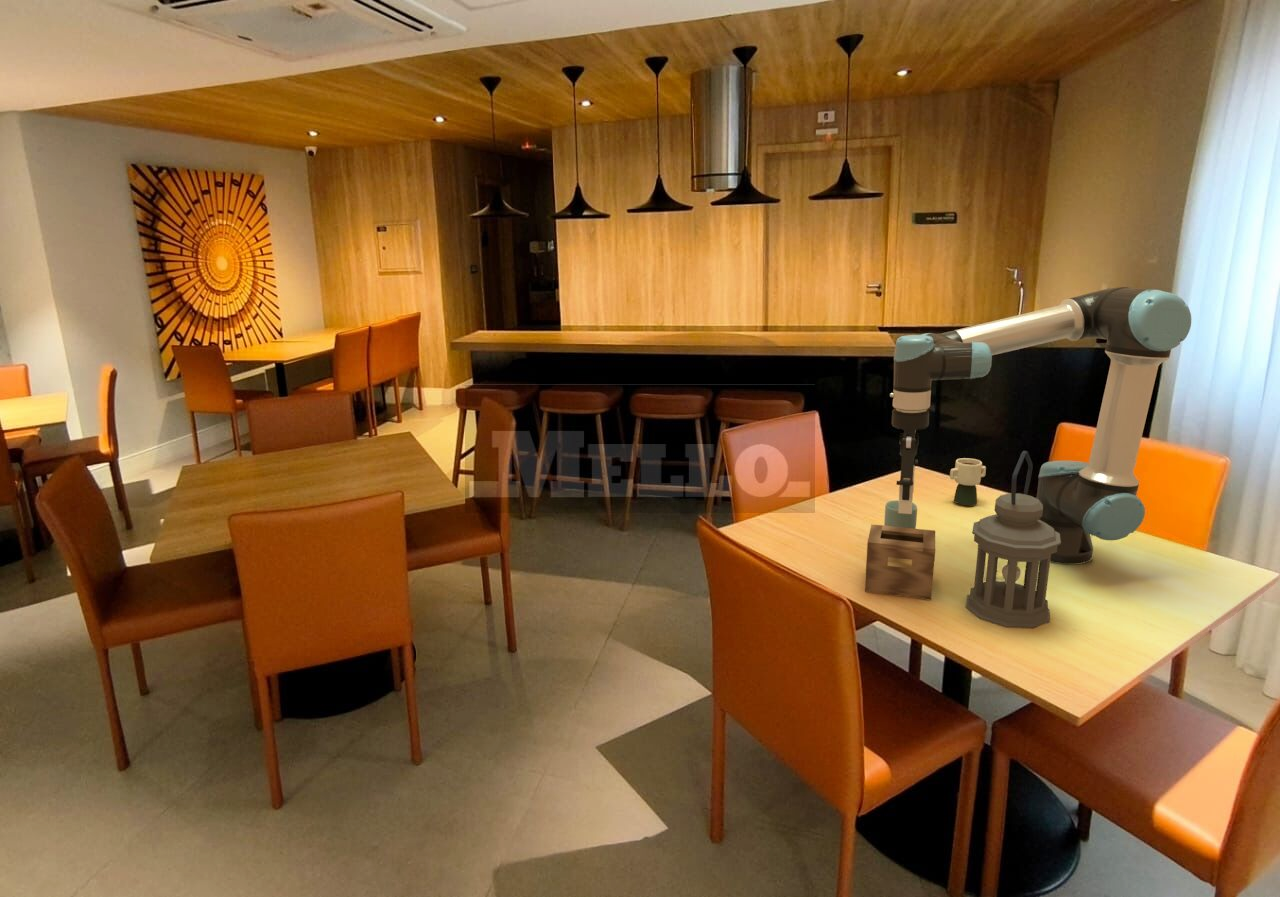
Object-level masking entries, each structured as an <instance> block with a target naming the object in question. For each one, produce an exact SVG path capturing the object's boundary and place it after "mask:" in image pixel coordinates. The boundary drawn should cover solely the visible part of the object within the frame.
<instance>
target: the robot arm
mask: <svg viewBox="0 0 1280 897" xmlns="http://www.w3.org/2000/svg"><path fill="white" fill-rule="evenodd" d="M1191 328H1192V314H1191V310H1190V307H1189V306H1188V304H1187V303H1186V302H1185V301H1184V299H1183V298H1182V297H1180V296H1178V295H1177V294H1175V293H1172V292H1167V291H1164V290H1160V289H1147V288H1146V289H1144V288H1134V287H1132V288H1131V287H1127V286H1126V287H1125V286H1117V287H1109V288H1105V289H1100V290H1097V291H1093V292H1090V293H1089V292H1088V293H1085V294H1081V295H1078V296H1074V297H1070V298H1066V299H1063V300H1062V301H1061V302H1060V304H1059V305H1055V306H1051V307H1047V308H1041V309H1039V310H1034V311H1030V312H1027V313H1026V312H1025V313H1021V314H1018V315H1013V316H1009V317H1005V318H1001V319H997V320H993V321H989V322H984V323H980V324H975V325H971V326H968V327H963V328H960V329H955V330H951V331H947V332H943V333H942V332H941V333H934V332H933V333H932V332H928V333H922V334H911V335H910V334H909V335H908V334H907V335H902V336H900V337H898V338H897V339H896V342H895V346H894V356H893V384H892V386H893V391H892V392H891V393H889V397H890V398H893V399H892V407H893V409H892V411H891V425H892V428H893V427H894V428H896V429H898V430H902V431H903V432H900V433H899V439H898V440H899V441H898V442H899V455H900V457H901V462H900V464H901V465H900V480H897V481H896V484H895V485H897V486H899V491H898V492H899V493H898V500H899V507H898V513H904V514H912V503H913V497H914V496H913V494H914V488H915V469H916V468H915V467H916V466H915V465H918V463H919V459H917V458H916V456H917V455H918V446H919V445H920V444H919V443H920V433H916V431H917V430H919V431H920V430H921V431H922V430H926V429H927V428H928V427H929V425H930V411H929V408H930V407H931V396H932V395H931V394H932V390H931V389H932V381H943V380H946V381H947V380H962V379H963V380H966V379H967V380H968V379H969V380H972V379H978V378H983V377H985V376H987V375H988V374H989V372H990V371H991V368H992V361H993V357H992V356H994V355H999V354H1004V353H1008V352H1012V351H1016V350H1017V351H1018V350H1020V349H1021V350H1022V349H1024V348H1029V347H1033V346H1038V345H1043V344H1047V343H1050V342H1051V343H1052V342H1055V341H1060V340H1064V339H1067V340H1069V341H1072V342H1074V341H1079V340H1085V339H1099V340H1100V339H1102V340H1106V344H1105V349H1104V353H1105V354H1106V355H1107V357H1108V358H1109V359H1110V364H1109V370H1108V374H1107V379H1106V384H1105V388H1104V392H1103V396H1102V402H1101V406H1100V411H1099V415H1098V420H1097V424H1096V427H1095V432H1094V438H1093V441H1092V442H1093V443H1092V447H1091V451H1090V455H1089V461H1088V462H1084V461H1078V460H1077V461H1075V460H1052V461H1047V462H1044V463H1043V464H1042V465H1041V467H1040V468H1039V474H1038V483H1037V484H1038V485H1037V492H1036V493H1037V494H1036V499H1038V500H1039V501H1040V502H1041V503H1042V504H1043V513H1042V517H1041V518H1040V519H1039V520H1041V521H1043V522H1044V523H1046V524H1048V525H1049V526H1051V527H1052V528H1054V530H1055V531H1056V532H1058V533H1060V541H1061V545H1058V546H1057V552H1056V553H1053V554H1051V560H1050V563H1051V562H1052V563H1054V564H1055V563H1056V564H1062V565H1063V564H1064V565H1076V564H1079V565H1080V564H1084V563H1088V562H1090V561H1091V560H1092V559H1093V555H1094V545H1093V541H1092V538H1091V537H1092V536H1094V537H1096V538H1098V539H1101V540H1102V541H1117V540H1118V541H1119V540H1121V539H1124V538H1126V537H1128V536H1129V535H1130V534H1133V533H1134V532H1136V531H1137V529H1138V528H1140V526H1141V525H1142V523H1143V521H1144V518H1145V517H1146V516H1145V515H1146V508H1145V507H1146V506H1145V505H1144V503H1143V502H1142V500H1141V498H1139V497H1138V496H1137V494H1138V490H1139V486H1140V480H1139V479H1138V478H1137V476H1136V475H1135V474H1134V473H1135V472H1134V471H1135V468H1136V463H1137V458H1138V454H1139V451H1140V450H1139V449H1140V445H1141V441H1142V438H1143V433H1144V429H1145V424H1146V420H1147V415H1148V412H1149V408H1150V403H1151V399H1152V395H1153V390H1154V386H1155V383H1156V382H1155V381H1156V378H1157V373H1158V370H1159V366H1160V365H1161V364H1162V363H1164V362H1165V361H1168V360H1169V359H1170V356H1171V352H1172V349H1175V348H1176V347H1178V346H1179V345H1181V342H1183V341H1185V339H1186V338H1187V337H1188V335H1189V333H1190V331H1191ZM915 458H916V459H915Z"/></svg>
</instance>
